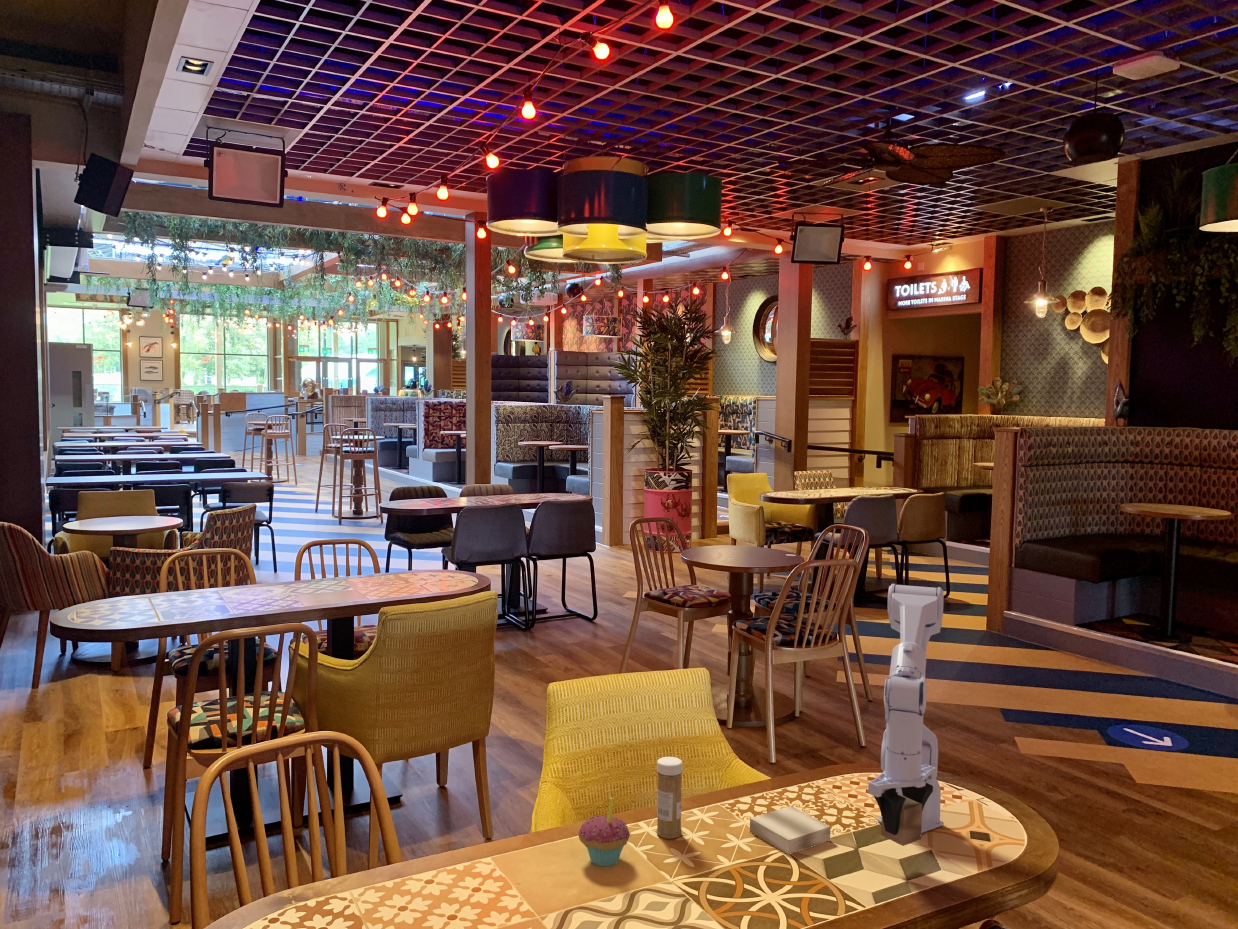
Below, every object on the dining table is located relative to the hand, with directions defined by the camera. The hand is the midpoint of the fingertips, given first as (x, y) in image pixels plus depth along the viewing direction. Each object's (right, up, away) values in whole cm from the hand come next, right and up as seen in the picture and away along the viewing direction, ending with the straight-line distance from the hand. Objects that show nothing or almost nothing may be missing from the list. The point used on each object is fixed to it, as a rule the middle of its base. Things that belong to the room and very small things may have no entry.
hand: (901, 828), depth 151 cm
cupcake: (-50, -6, +2) cm, 50 cm away
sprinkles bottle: (-38, -6, +11) cm, 40 cm away
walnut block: (0, -2, 0) cm, 2 cm away
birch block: (-17, -6, +11) cm, 21 cm away
